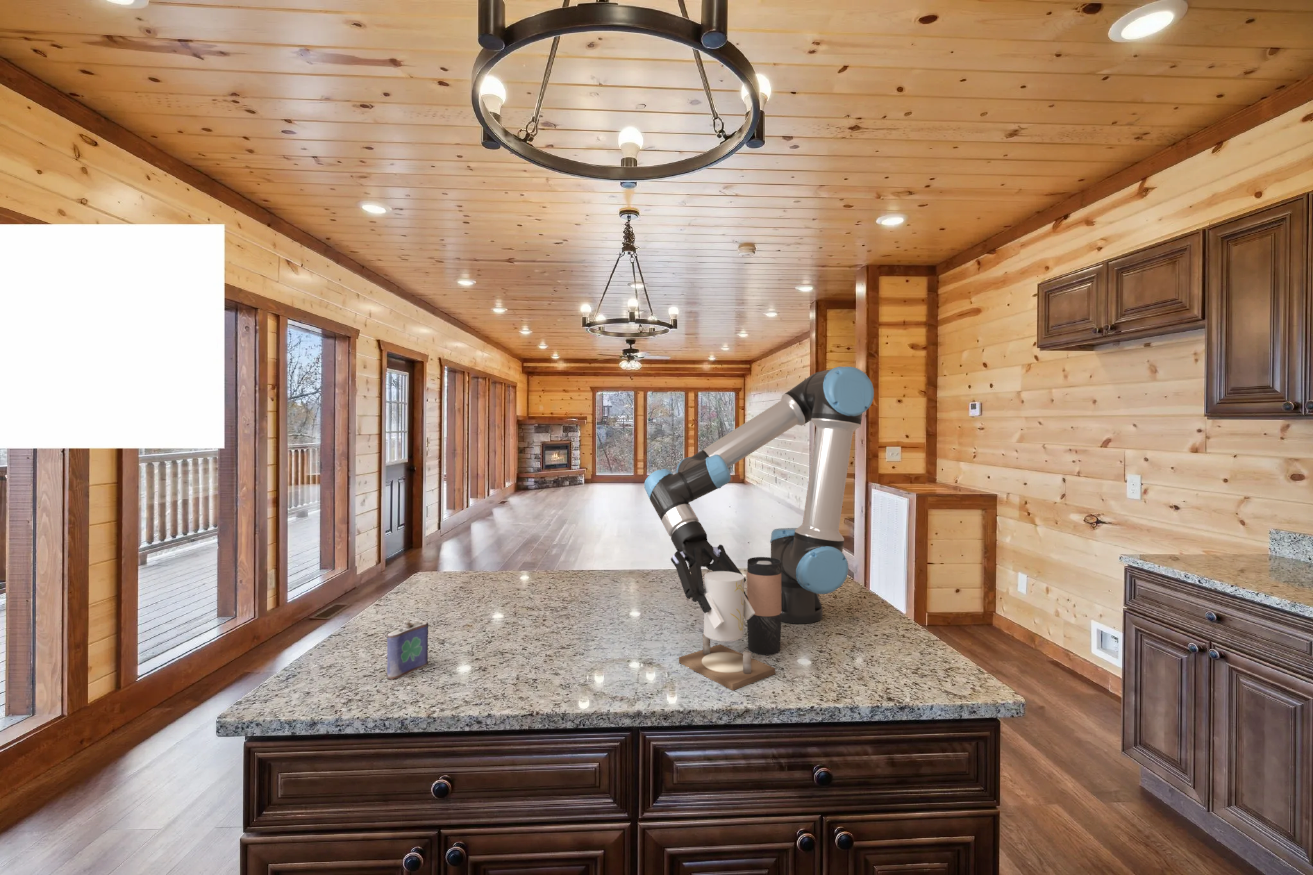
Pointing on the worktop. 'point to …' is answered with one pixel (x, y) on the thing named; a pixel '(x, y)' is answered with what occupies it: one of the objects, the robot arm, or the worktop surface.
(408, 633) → the flask
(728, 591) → the cup
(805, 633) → the worktop surface
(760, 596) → the travel mug
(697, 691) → the worktop surface
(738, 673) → the tray
